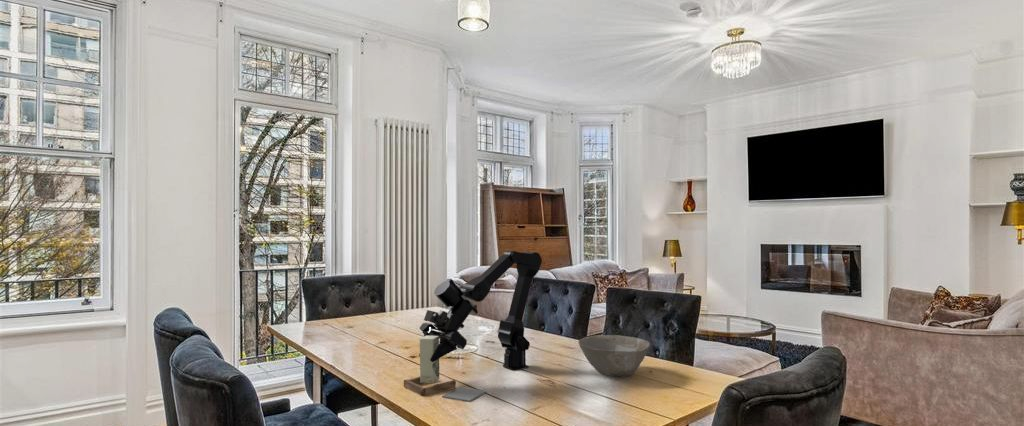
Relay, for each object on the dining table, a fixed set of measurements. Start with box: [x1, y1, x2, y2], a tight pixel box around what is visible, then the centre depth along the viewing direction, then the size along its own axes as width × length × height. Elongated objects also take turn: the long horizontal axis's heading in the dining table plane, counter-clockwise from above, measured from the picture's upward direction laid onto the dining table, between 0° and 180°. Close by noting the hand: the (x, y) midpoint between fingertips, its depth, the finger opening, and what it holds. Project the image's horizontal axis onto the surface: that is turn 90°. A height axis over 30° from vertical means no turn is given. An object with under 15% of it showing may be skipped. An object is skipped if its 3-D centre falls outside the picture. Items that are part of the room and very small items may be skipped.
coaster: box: [441, 386, 487, 403], centre depth 147 cm, size 9×9×1 cm
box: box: [419, 335, 440, 384], centre depth 154 cm, size 5×4×13 cm
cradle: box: [403, 376, 457, 397], centre depth 154 cm, size 11×11×2 cm
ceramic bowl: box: [577, 334, 651, 377], centre depth 166 cm, size 22×23×10 cm
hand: (425, 359), depth 153 cm, fingers closed on box, 6 cm apart
